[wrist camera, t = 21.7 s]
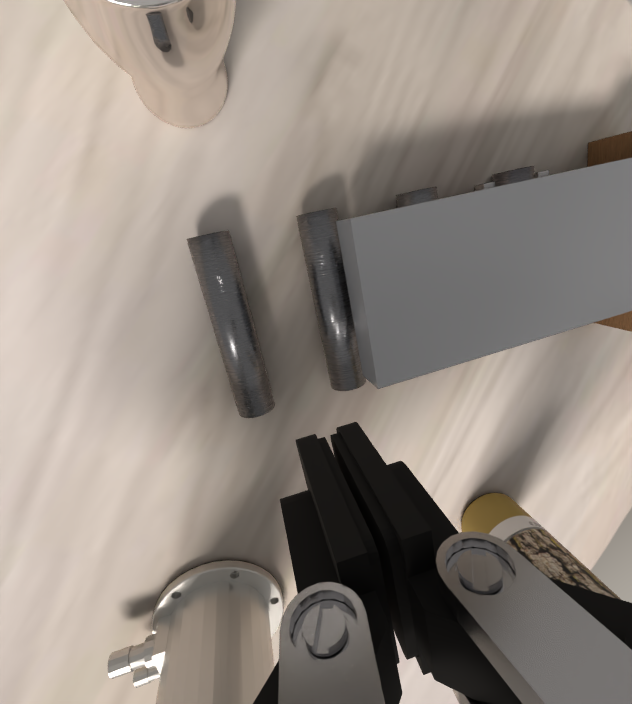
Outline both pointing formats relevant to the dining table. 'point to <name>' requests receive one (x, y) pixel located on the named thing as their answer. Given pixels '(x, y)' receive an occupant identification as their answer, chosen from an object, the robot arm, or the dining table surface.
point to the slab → (487, 269)
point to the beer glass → (166, 51)
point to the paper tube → (529, 540)
